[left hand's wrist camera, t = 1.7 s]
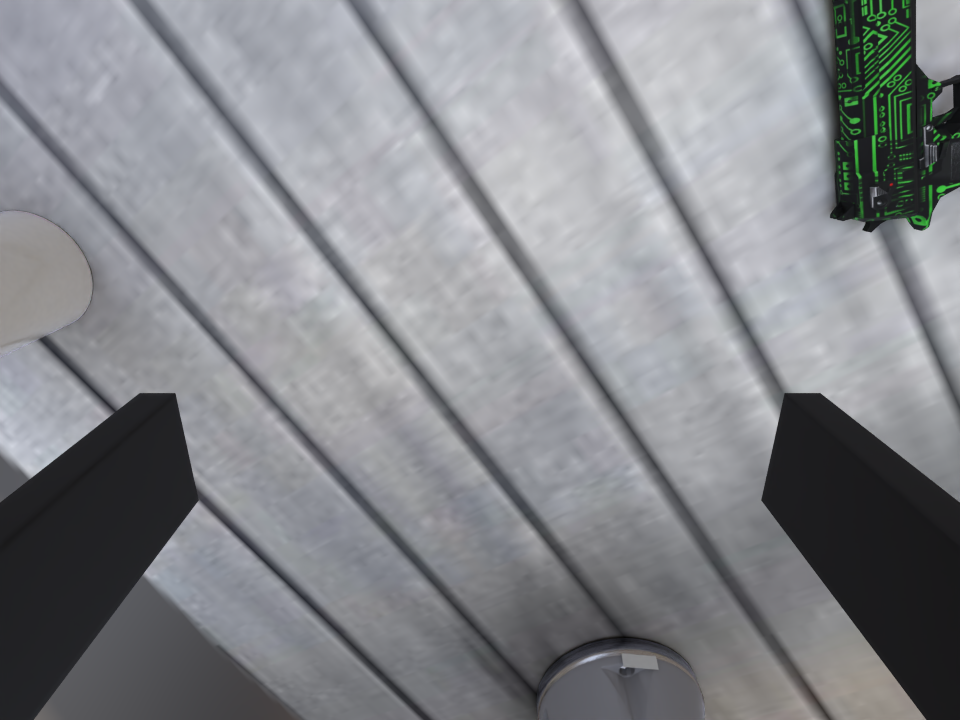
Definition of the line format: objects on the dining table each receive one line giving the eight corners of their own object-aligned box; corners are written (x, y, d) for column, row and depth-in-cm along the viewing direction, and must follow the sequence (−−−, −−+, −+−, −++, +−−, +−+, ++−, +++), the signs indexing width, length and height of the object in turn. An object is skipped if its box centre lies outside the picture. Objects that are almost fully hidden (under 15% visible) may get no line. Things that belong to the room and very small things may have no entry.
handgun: (1079, 206, 35) (833, 253, 36) (1034, 202, 38) (806, 245, 39) (1136, -113, 30) (841, -51, 30) (1078, -91, 32) (809, -35, 33)
